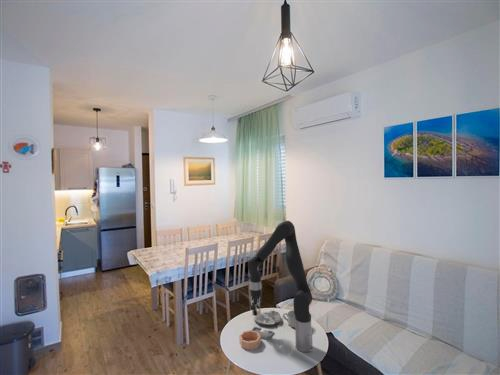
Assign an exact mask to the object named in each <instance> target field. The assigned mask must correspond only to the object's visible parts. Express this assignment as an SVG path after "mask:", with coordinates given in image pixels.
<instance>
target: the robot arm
mask: <svg viewBox="0 0 500 375" xmlns="http://www.w3.org/2000/svg"><path fill="white" fill-rule="evenodd" d="M283 240H284V241H285V263H286V266H287V270H288V273H289V274H290V276H291V277H292V278H293V280H294V282H295V286H296V291H297V293H296V294H295V295H294V298H293V310H294V314H295V328H294V330H295V332H294V333H295V334H294V335H295V349H296V350H297V351H299V352H302V353H310V352H311V350H312V349H313V330H312V314H311V313H310V305H311V304H312V302H313V295H312V291H311V289H310V286H309V283H308V280H307V277H306V272H305V269H304V263H303V260H302V256H301V252H300V249H299V245H298V240H297V235H296V229H295V225H294V224H293V223H292V222H291V221H290V220H284V221H282V222H280V223H278V224H277V226H276V227H275V229H274V231H273V232H272V233H271V235H270V237H269V238H268V239H267V240H266V241H265V243H263V245H262V246H261V247H260V248H259V249H258V250H257V252H256V254H255V255H254V256H252V257H250V258H249V259H248V261H247V269H248V273H249V295H250V296H251V301H250V302H249V306H250V310H251V311H252V310H253V315H255V316H256V315H257V308H258V309H260V307H261V305H262V299H263V295H262V294H263V293H262V292H263V291H262V288H263V287H262V277H261V271H259V270H258V268H259V267H260V266H262V265H263V264H264V262H265V260H267V258H268V257H269V256H270V255H271V254H272V253H273V252H274V250H275V249H276V247H277V246H278V245H279V243H281V242H282V241H283ZM255 316H254V317H255Z"/></svg>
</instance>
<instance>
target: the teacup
mask: <svg viewBox="0 0 500 375" xmlns="http://www.w3.org/2000/svg"><path fill="white" fill-rule="evenodd" d="M282 317H283V319H284V320H286V323H288V325H289V326H290V327H291V328H294V329H295V314H294V309H292V310H289V311H288V312H283V314H282Z"/></svg>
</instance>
